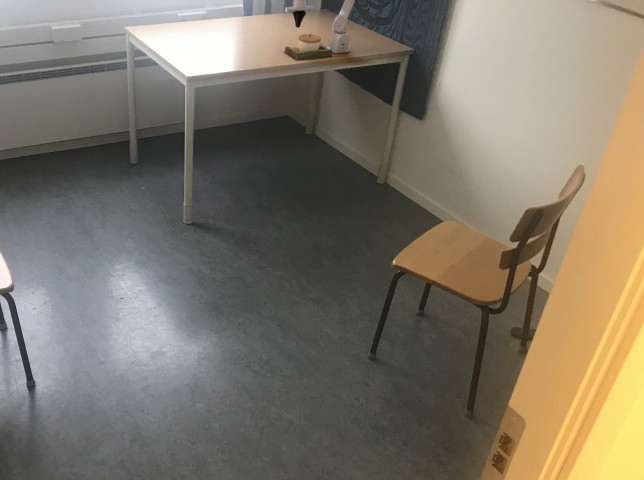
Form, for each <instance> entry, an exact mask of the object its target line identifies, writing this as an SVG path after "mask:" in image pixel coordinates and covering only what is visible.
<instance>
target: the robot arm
mask: <svg viewBox="0 0 644 480" xmlns="http://www.w3.org/2000/svg"><path fill="white" fill-rule="evenodd" d="M355 1H356V0H344V1H343V4H342V6H341V8H340V11H339V13H338V14H337V15H336V17H335V18H334V21H333V22H332V28H331V33H330V41H329V46H325V47H326V48H328V49H332V53H333V54H343V53H349V52H350V50H349V44H350V36H349V35H348V34H347V33H348V32H347V31H348V30H347V25H348V22H349V15H350V13H351V11H352V9H353V6H354V4H355ZM314 7H315V6H314V5H307V0H294V2H293V5H292V6H288V7H287V6H286V7H285V8H284V12H285V13H286V14H288V13H292V15H293V19H294V24H295V28H296V29H297V28H301V25H302V22H303V20H304V18H305V16H306V15H307V12H308V11H309V12H310V11H311V12H314V9H315V8H314Z"/></svg>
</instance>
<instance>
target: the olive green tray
mask: <svg viewBox="0 0 644 480" xmlns="http://www.w3.org/2000/svg"><path fill="white" fill-rule="evenodd" d="M326 47H327V46H325V45H323V44H321V43H320V46H319V49H318V50H316V51H305V52H300V51H298V52H297V51H296V50H294V49H293V48H291V47H290V46H285V47H284V53H286V54H287V55H288V56H290V57H291V58H293V59H294V60H296V61H297V60H309V59H317V58H328V57H332V56H333V52H332V49H328V48H326Z"/></svg>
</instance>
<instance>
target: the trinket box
mask: <svg viewBox="0 0 644 480" xmlns="http://www.w3.org/2000/svg"><path fill="white" fill-rule="evenodd" d="M321 42H322V37H321V36H320V35H316V34H312V33H304V34H300V35H299V36H298V42H297V46H298V50H299V52H305V51H316V50H318V49H319V46H320V44H321Z"/></svg>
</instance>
